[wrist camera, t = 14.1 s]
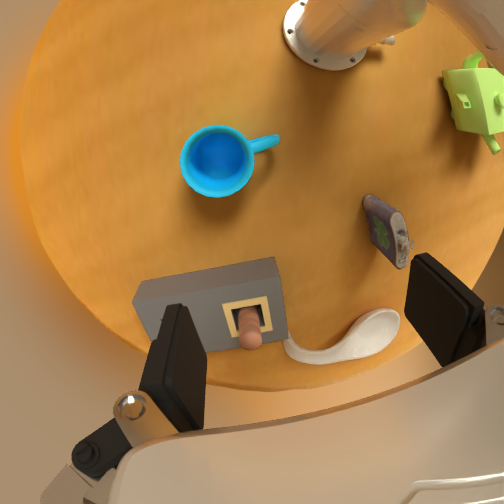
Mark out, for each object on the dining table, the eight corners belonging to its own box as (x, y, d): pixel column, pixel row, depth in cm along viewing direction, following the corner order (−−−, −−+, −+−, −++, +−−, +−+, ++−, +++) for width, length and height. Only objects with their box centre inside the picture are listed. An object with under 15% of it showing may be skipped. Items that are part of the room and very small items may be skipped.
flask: (360, 196, 40) (395, 219, 31) (375, 190, 40) (413, 211, 30) (371, 247, 44) (402, 279, 35) (385, 240, 44) (419, 271, 34)
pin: (254, 290, 44) (260, 331, 35) (257, 305, 45) (263, 347, 36) (235, 294, 44) (237, 335, 35) (239, 309, 46) (241, 351, 36)
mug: (202, 191, 39) (195, 207, 31) (182, 138, 35) (169, 141, 28) (284, 164, 38) (296, 173, 30) (266, 109, 34) (274, 104, 27)
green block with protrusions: (443, 44, 29) (485, 37, 18) (487, 91, 32) (528, 94, 22) (423, 107, 34) (470, 109, 24) (470, 150, 37) (512, 163, 27)
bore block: (274, 256, 44) (280, 277, 38) (283, 316, 49) (289, 340, 43) (142, 281, 44) (131, 303, 38) (165, 335, 49) (159, 358, 43)
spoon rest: (398, 294, 49) (415, 316, 43) (387, 338, 55) (400, 360, 48) (281, 314, 49) (288, 341, 42) (283, 358, 54) (288, 385, 48)
